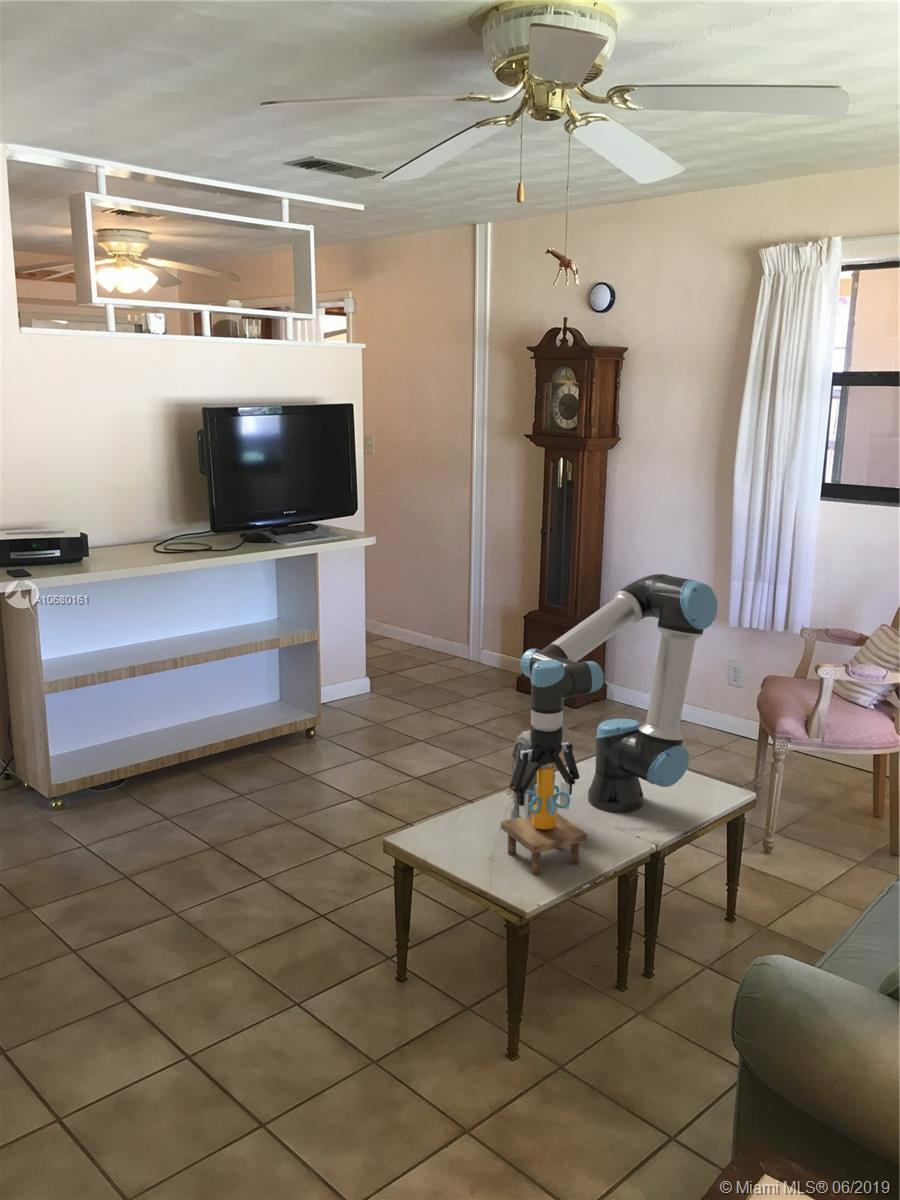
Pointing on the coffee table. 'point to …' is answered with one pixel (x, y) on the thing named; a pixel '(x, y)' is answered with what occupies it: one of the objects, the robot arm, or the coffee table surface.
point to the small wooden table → (543, 838)
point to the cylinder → (545, 799)
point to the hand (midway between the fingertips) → (544, 812)
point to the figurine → (525, 744)
